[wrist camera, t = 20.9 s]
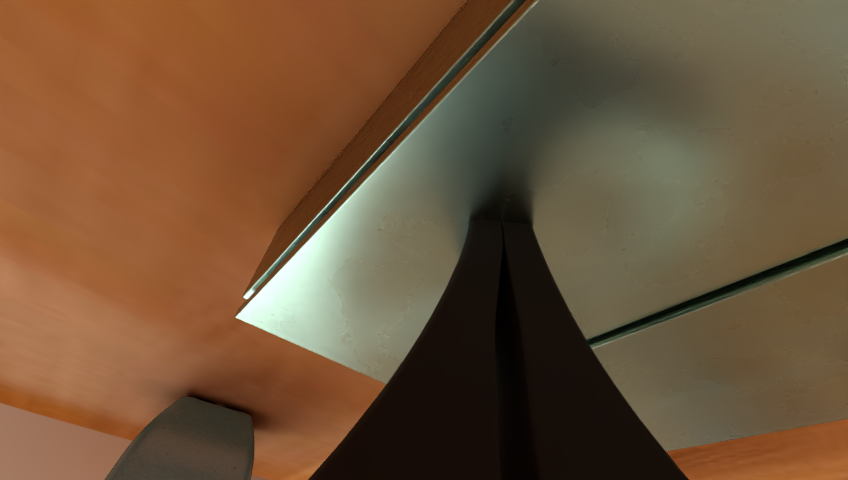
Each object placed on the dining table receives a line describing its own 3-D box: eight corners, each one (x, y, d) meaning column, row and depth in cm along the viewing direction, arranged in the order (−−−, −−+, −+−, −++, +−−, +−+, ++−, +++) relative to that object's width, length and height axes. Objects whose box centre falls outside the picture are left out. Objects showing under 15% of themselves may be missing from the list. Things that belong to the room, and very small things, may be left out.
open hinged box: (553, 387, 23) (561, 471, 20) (278, 228, 17) (231, 316, 14) (1002, 240, 13) (1147, 368, 10) (733, -320, 6) (920, -421, 4)
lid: (428, 393, 17) (427, 402, 17) (239, 307, 14) (234, 317, 14) (1048, 138, 7) (1070, 152, 7) (887, -390, 4) (917, -405, 4)
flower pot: (261, 442, 37) (213, 569, 31) (157, 412, 35) (83, 543, 29) (283, 412, 31) (229, 563, 25) (159, 374, 29) (67, 529, 23)
